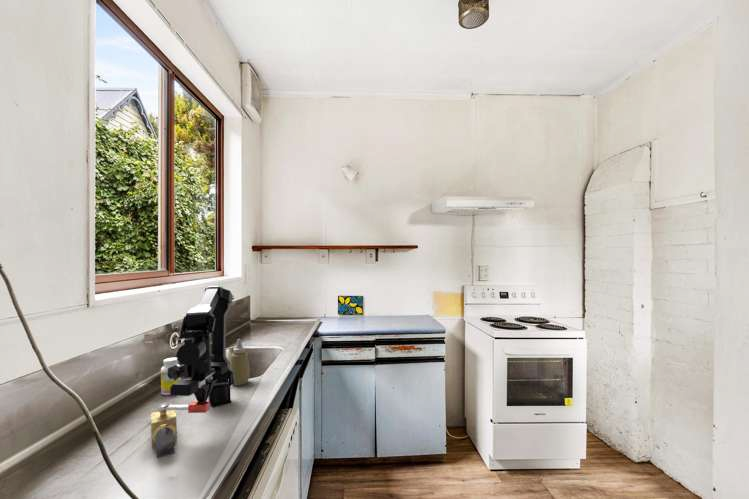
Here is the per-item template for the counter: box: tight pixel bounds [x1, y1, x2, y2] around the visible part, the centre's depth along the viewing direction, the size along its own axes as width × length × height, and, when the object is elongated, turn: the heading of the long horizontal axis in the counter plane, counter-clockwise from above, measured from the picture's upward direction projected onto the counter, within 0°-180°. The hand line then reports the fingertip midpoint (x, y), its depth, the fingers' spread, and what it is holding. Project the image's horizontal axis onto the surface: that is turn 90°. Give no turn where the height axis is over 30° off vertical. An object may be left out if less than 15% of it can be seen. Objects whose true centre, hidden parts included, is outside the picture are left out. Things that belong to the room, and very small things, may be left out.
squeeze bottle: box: [229, 338, 251, 386], centre depth 142 cm, size 8×8×18 cm
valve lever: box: [156, 401, 211, 414], centre depth 99 cm, size 14×3×2 cm, turn 88°
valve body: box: [150, 409, 178, 459], centre depth 100 cm, size 6×22×8 cm, turn 34°
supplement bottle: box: [160, 357, 182, 396], centre depth 134 cm, size 7×7×13 cm
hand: (202, 406), depth 102 cm, fingers closed
